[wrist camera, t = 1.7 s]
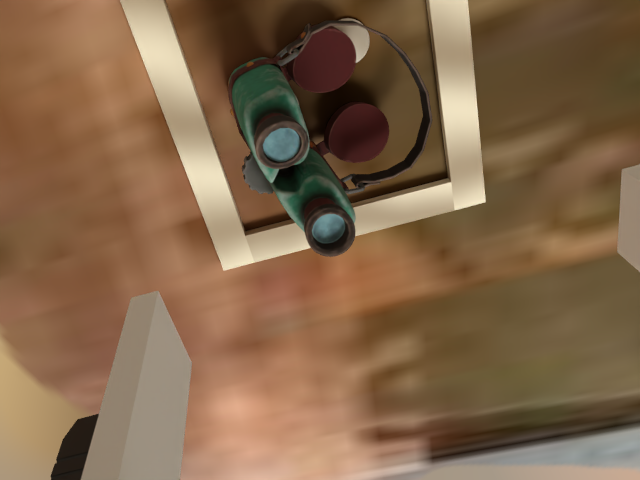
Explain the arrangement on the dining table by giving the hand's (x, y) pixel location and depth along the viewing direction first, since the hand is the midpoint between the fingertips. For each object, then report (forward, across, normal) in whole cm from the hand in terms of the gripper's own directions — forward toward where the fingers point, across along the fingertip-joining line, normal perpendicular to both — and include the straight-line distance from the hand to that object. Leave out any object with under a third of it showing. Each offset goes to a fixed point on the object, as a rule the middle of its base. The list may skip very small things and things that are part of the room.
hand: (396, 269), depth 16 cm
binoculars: (+18, 0, 0) cm, 18 cm away
